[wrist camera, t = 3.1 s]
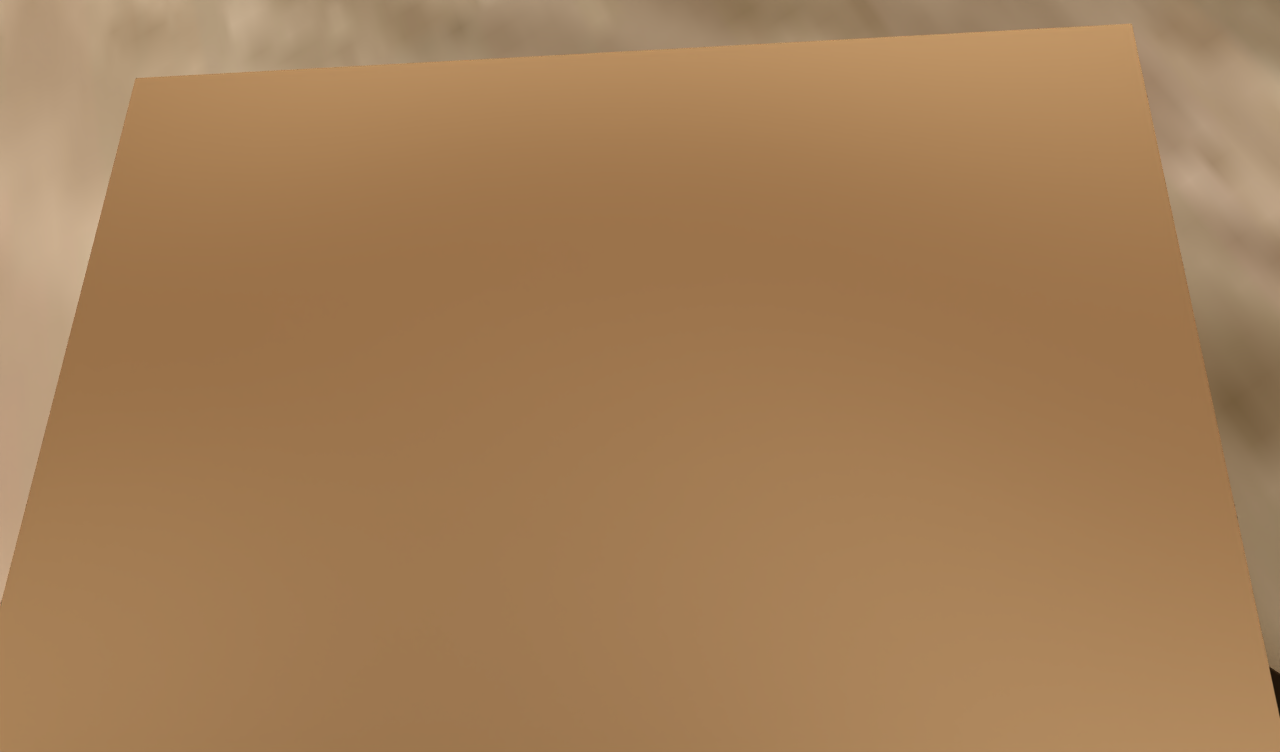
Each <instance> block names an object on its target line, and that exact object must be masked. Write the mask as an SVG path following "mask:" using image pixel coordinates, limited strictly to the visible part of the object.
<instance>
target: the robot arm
mask: <svg viewBox="0 0 1280 752" xmlns="http://www.w3.org/2000/svg"><path fill="white" fill-rule="evenodd" d="M1269 669H1270V674H1271V679H1272V683H1273V688H1274V693H1275V697H1276V702H1277V707H1278V711H1279V716H1280V673H1278V672H1277V671H1275V670H1274V669H1272V668H1271V667H1269Z"/></svg>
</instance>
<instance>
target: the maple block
mask: <svg viewBox="0 0 1280 752" xmlns="http://www.w3.org/2000/svg"><path fill="white" fill-rule="evenodd" d="M0 752H1280V716H1279V711H1278V707H1277V702H1276V697H1275V693H1274V688H1273V683H1272V679H1271V674H1270V669H1269V665H1268V660H1267V655H1266V651H1265V646H1264V641H1263V637H1262V632H1261V627H1260V623H1259V618H1258V613H1257V608H1256V604H1255V599H1254V594H1253V590H1252V585H1251V580H1250V576H1249V571H1248V566H1247V562H1246V557H1245V552H1244V548H1243V543H1242V538H1241V534H1240V529H1239V524H1238V520H1237V515H1236V510H1235V506H1234V501H1233V496H1232V492H1231V487H1230V482H1229V478H1228V473H1227V468H1226V463H1225V459H1224V454H1223V449H1222V445H1221V440H1220V435H1219V431H1218V426H1217V421H1216V417H1215V412H1214V407H1213V403H1212V398H1211V393H1210V389H1209V384H1208V379H1207V375H1206V370H1205V365H1204V361H1203V356H1202V351H1201V347H1200V342H1199V337H1198V333H1197V328H1196V323H1195V318H1194V314H1193V309H1192V304H1191V300H1190V295H1189V290H1188V286H1187V281H1186V276H1185V272H1184V267H1183V262H1182V258H1181V253H1180V248H1179V244H1178V239H1177V234H1176V230H1175V225H1174V220H1173V216H1172V211H1171V206H1170V202H1169V197H1168V192H1167V187H1166V183H1165V178H1164V173H1163V169H1162V164H1161V159H1160V155H1159V150H1158V145H1157V141H1156V136H1155V131H1154V127H1153V122H1152V117H1151V113H1150V108H1149V103H1148V99H1147V94H1146V89H1145V85H1144V80H1143V75H1142V71H1141V66H1140V61H1139V57H1138V52H1137V47H1136V42H1135V38H1134V33H1133V28H1132V24H1120V25H1101V26H1083V27H1065V28H1046V29H1028V30H1010V31H992V32H973V33H955V34H937V35H918V36H900V37H882V38H864V39H845V40H827V41H809V42H790V43H772V44H754V45H736V46H717V47H699V48H681V49H663V50H644V51H626V52H608V53H589V54H571V55H553V56H535V57H516V58H498V59H480V60H461V61H443V62H425V63H407V64H388V65H370V66H352V67H333V68H315V69H297V70H279V71H260V72H242V73H224V74H205V75H187V76H169V77H151V78H136V79H135V83H134V87H133V91H132V95H131V99H130V103H129V107H128V110H127V114H126V118H125V122H124V126H123V130H122V134H121V138H120V142H119V146H118V149H117V153H116V157H115V161H114V165H113V169H112V173H111V177H110V181H109V185H108V188H107V192H106V196H105V200H104V204H103V208H102V212H101V216H100V220H99V224H98V227H97V231H96V235H95V239H94V243H93V247H92V251H91V255H90V259H89V263H88V266H87V270H86V274H85V278H84V282H83V286H82V290H81V294H80V298H79V302H78V305H77V309H76V313H75V317H74V321H73V325H72V329H71V333H70V337H69V341H68V344H67V348H66V352H65V356H64V360H63V364H62V368H61V372H60V376H59V380H58V383H57V387H56V391H55V395H54V399H53V403H52V407H51V411H50V415H49V419H48V422H47V426H46V430H45V434H44V438H43V442H42V446H41V450H40V454H39V458H38V461H37V465H36V469H35V473H34V477H33V481H32V485H31V489H30V493H29V496H28V500H27V504H26V508H25V512H24V516H23V520H22V524H21V528H20V532H19V535H18V539H17V543H16V547H15V551H14V555H13V559H12V563H11V567H10V571H9V574H8V578H7V582H6V586H5V590H4V594H3V598H2V602H1V606H0Z"/></svg>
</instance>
